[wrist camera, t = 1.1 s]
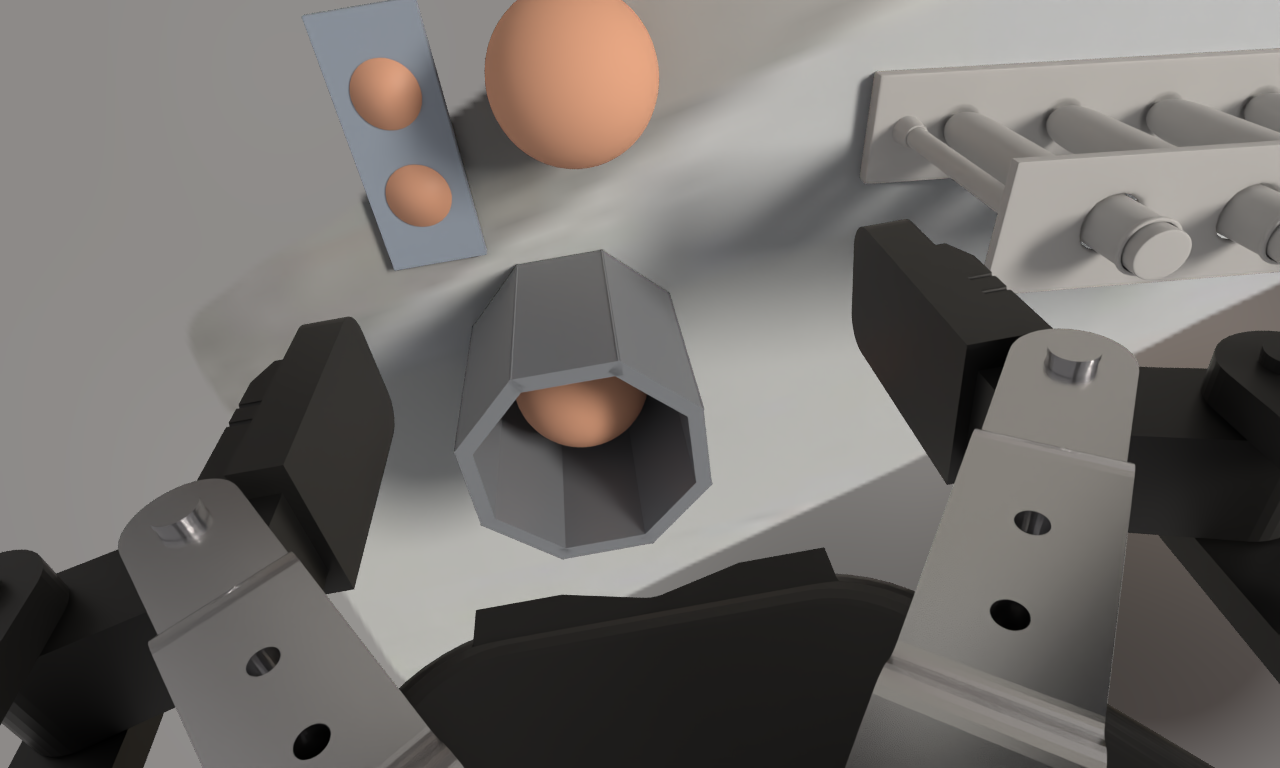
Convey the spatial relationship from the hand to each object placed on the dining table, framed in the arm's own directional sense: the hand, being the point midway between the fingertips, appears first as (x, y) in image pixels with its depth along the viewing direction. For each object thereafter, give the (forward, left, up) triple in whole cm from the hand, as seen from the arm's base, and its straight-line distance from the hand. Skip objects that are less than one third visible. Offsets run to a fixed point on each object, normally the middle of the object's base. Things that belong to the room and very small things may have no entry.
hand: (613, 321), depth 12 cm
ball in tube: (+13, -2, -17) cm, 21 cm away
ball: (0, 0, -17) cm, 17 cm away
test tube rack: (+6, +24, -20) cm, 32 cm away
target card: (+2, -7, -20) cm, 21 cm away
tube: (+13, -2, -20) cm, 24 cm away
